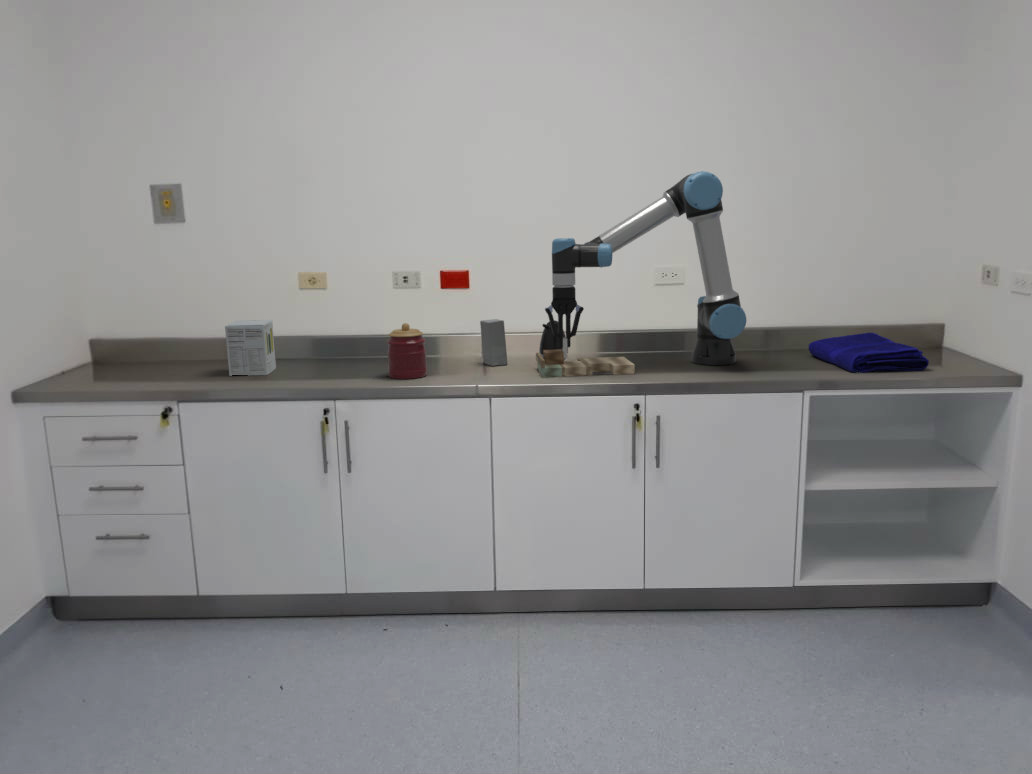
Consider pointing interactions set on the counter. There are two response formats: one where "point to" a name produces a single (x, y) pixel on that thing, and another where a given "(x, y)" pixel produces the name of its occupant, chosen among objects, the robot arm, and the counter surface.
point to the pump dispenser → (549, 339)
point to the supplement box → (250, 347)
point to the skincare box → (493, 342)
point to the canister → (406, 353)
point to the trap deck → (586, 367)
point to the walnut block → (553, 357)
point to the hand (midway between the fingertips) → (564, 357)
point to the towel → (868, 353)
